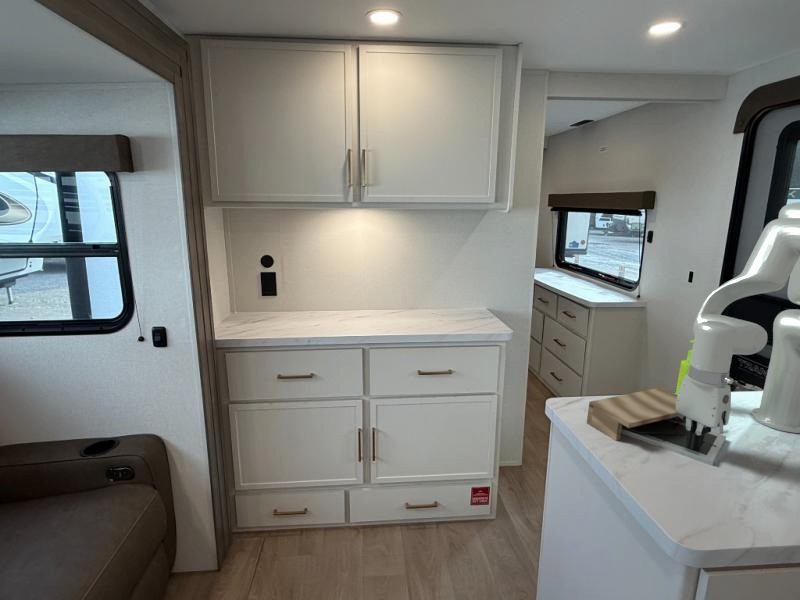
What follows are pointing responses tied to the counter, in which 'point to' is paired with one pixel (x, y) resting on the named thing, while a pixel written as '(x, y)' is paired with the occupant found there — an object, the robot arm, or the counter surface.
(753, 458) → the counter surface
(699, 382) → the robot arm
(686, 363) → the soap dispenser
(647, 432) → the picture frame
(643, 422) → the walnut shelf
